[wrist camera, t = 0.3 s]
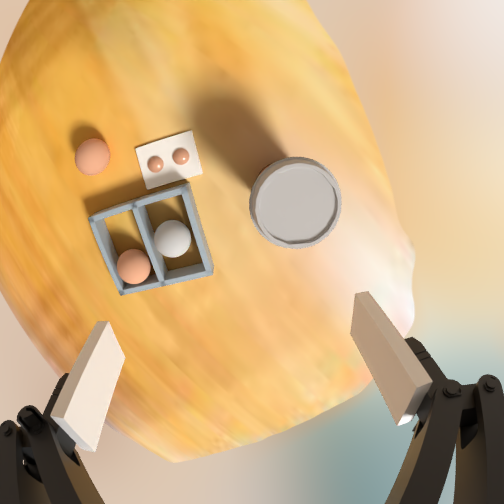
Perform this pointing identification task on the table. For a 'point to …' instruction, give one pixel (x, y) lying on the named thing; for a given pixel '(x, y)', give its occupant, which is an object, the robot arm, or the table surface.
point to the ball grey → (172, 238)
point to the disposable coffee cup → (295, 202)
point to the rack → (152, 241)
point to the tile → (169, 160)
